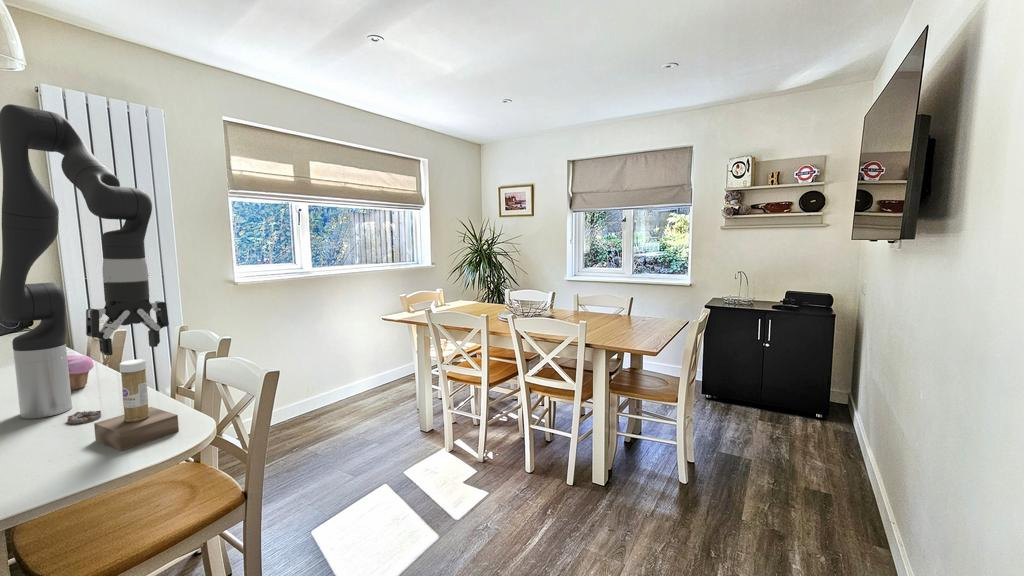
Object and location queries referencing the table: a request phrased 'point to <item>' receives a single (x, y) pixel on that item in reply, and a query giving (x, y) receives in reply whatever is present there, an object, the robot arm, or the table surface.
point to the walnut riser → (136, 429)
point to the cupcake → (79, 370)
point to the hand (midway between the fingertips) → (131, 350)
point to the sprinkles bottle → (134, 390)
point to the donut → (84, 417)
